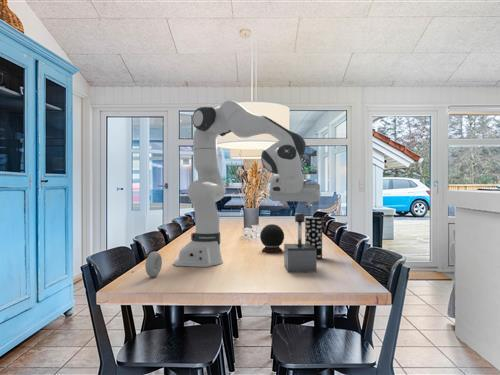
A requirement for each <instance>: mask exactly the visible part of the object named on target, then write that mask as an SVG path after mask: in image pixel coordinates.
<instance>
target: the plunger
mask: <svg viewBox="0 0 500 375" xmlns="http://www.w3.org/2000/svg"><path fill="white" fill-rule="evenodd" d="M305 214H306V213H302V212H301V213H300V212H299V213H297V212H296V213H295V216H294V221H295V223H297V244H298V247H302V244H303V240H302V239H303V236H302V235H303V232H302V231H303V230H302V228H303V226H302V225H303V223H305V218H306V216H305Z"/></svg>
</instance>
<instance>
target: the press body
mask: <svg viewBox="0 0 500 375" xmlns="http://www.w3.org/2000/svg"><path fill="white" fill-rule="evenodd" d="M283 248H284V250H283V256H284V258H283V260H284V261H283V264H284V265H283V266H284V268H285V270H286V272H287V273H317V266H318V265H317V261H318V260H317V248H316V247H314V246H313V245H312V244H305V243H302V247H298V243H284V244H283Z"/></svg>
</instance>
